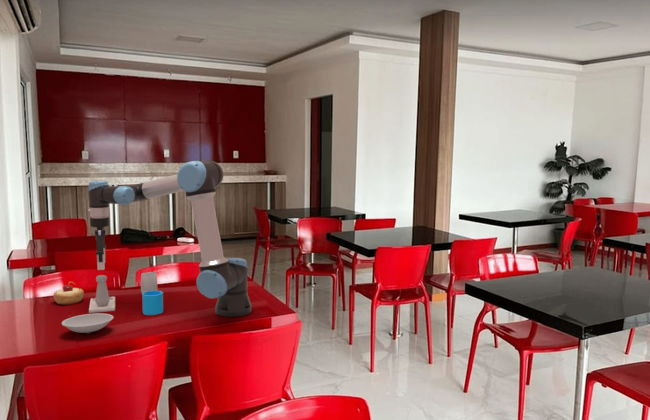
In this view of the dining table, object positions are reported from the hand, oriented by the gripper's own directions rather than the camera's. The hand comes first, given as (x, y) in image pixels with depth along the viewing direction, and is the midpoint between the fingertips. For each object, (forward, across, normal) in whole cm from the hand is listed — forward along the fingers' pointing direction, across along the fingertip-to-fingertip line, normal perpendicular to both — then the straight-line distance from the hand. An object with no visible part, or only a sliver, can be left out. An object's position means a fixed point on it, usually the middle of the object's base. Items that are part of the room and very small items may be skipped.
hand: (101, 266), depth 225 cm
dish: (+18, +33, -4) cm, 38 cm away
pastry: (+18, -12, -14) cm, 26 cm away
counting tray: (+18, 0, 0) cm, 18 cm away
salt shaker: (+17, 0, 0) cm, 17 cm away
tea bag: (+18, -15, +20) cm, 31 cm away
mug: (+18, +13, +20) cm, 30 cm away
